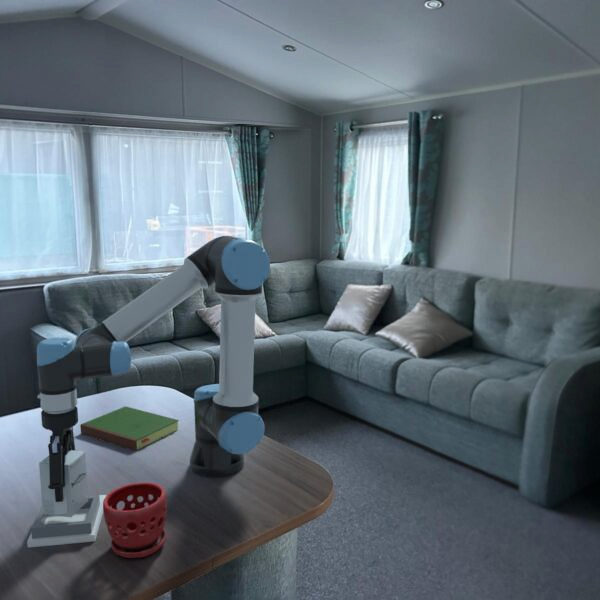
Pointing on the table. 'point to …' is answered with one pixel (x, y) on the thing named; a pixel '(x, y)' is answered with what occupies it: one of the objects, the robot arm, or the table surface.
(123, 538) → the plant pot
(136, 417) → the hardcover book
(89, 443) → the table surface
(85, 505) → the plate
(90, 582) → the table surface
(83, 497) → the supplement box
